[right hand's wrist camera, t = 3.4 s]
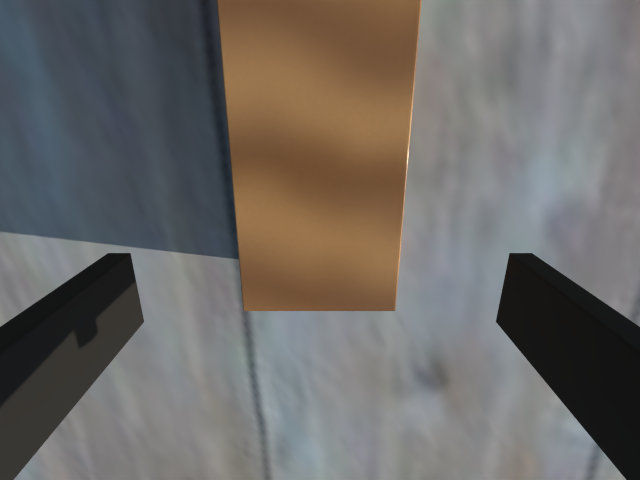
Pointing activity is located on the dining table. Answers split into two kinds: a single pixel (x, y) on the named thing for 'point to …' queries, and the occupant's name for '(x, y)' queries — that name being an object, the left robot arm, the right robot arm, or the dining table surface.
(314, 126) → the wide beam
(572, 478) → the dining table surface
